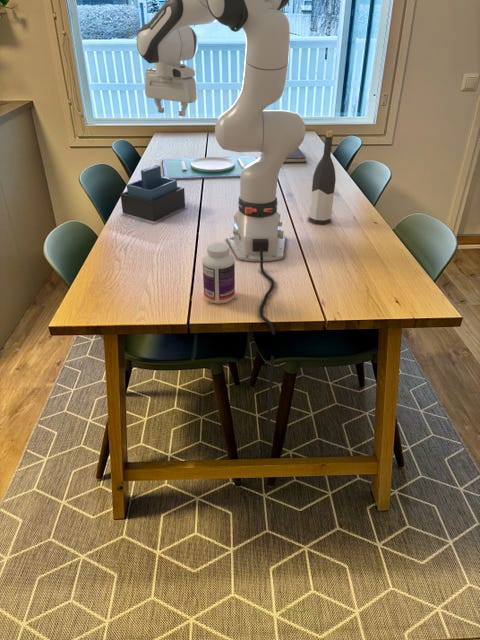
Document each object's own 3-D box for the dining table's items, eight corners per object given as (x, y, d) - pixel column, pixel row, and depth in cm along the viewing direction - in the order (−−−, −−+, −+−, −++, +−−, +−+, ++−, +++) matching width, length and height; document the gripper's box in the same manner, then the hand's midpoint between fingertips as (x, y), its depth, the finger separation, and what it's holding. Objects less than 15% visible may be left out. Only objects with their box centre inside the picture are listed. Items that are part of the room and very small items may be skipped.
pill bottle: (235, 290, 126) (236, 240, 118) (233, 306, 119) (233, 254, 111) (205, 288, 126) (204, 239, 118) (201, 304, 120) (199, 253, 111)
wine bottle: (334, 218, 168) (346, 130, 151) (325, 226, 162) (337, 135, 146) (313, 214, 172) (322, 127, 155) (304, 221, 166) (312, 132, 149)
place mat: (164, 180, 202) (164, 174, 201) (162, 160, 227) (162, 155, 226) (267, 176, 208) (267, 171, 207) (254, 157, 233) (254, 152, 232)
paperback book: (296, 150, 245) (297, 145, 244) (306, 162, 226) (306, 157, 225) (266, 150, 244) (266, 145, 243) (273, 163, 225) (273, 158, 224)
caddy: (155, 201, 179) (152, 161, 170) (178, 207, 174) (175, 166, 165) (130, 212, 169) (124, 170, 160) (153, 218, 164) (149, 176, 156)
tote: (155, 200, 181) (153, 180, 177) (185, 208, 175) (184, 187, 170) (123, 215, 169) (120, 193, 164) (154, 223, 162) (151, 202, 158)
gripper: (138, 67, 158) (142, 112, 166) (187, 72, 149) (189, 119, 157) (151, 66, 162) (154, 109, 170) (198, 71, 153) (200, 116, 161)
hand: (171, 114), depth 163 cm, fingers open, 8 cm apart
